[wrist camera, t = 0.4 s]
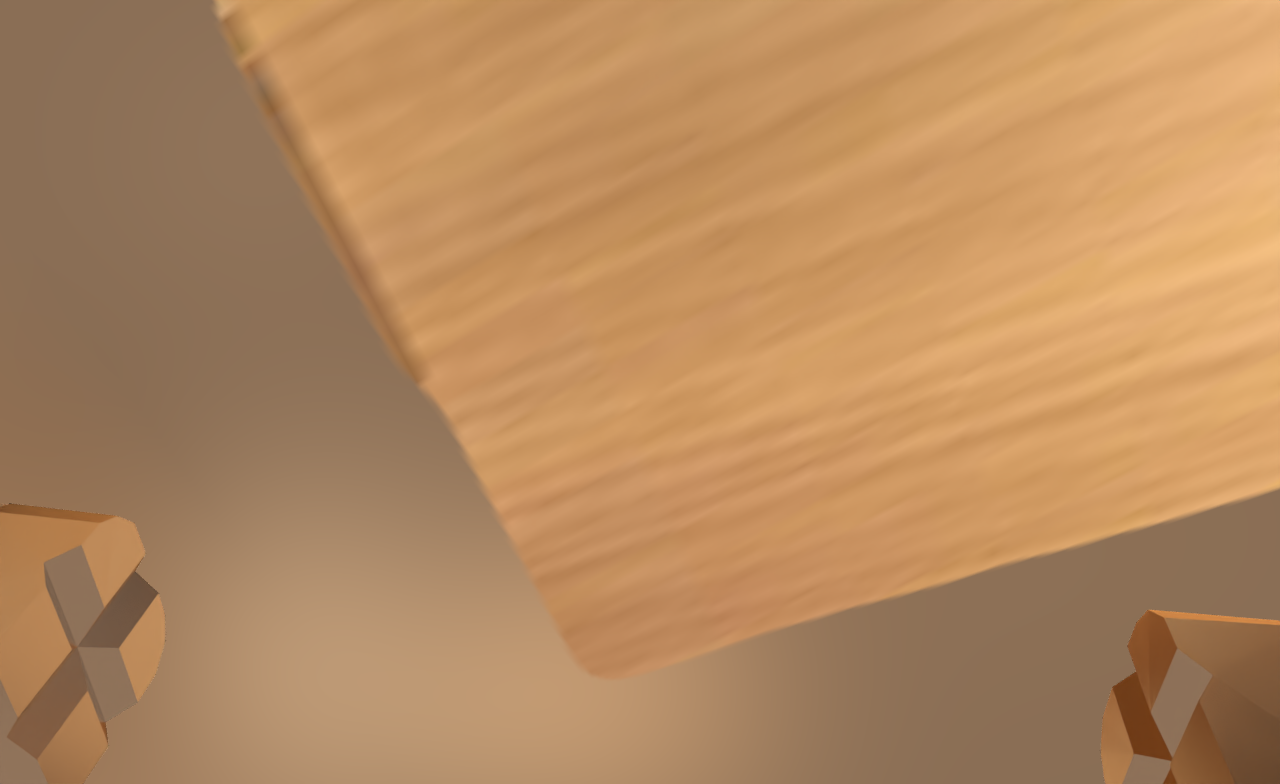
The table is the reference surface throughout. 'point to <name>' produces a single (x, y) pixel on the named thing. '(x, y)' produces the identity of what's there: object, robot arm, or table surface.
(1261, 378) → the table surface
